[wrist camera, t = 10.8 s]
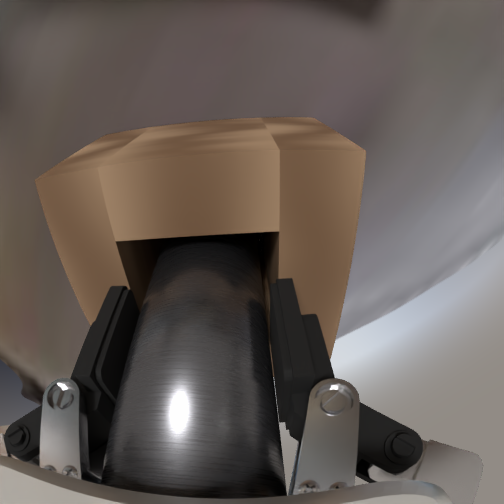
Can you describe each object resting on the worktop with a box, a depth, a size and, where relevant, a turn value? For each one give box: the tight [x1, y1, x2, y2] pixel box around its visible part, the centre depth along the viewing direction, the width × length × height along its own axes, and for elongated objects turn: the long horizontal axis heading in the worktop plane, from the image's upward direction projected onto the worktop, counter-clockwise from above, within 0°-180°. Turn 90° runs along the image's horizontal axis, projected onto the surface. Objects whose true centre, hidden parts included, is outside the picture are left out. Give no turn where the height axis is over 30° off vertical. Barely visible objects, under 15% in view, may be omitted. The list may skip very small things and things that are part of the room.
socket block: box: [35, 117, 366, 377], centre depth 14 cm, size 11×11×7 cm
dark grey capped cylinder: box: [100, 232, 287, 499], centre depth 10 cm, size 4×4×14 cm
